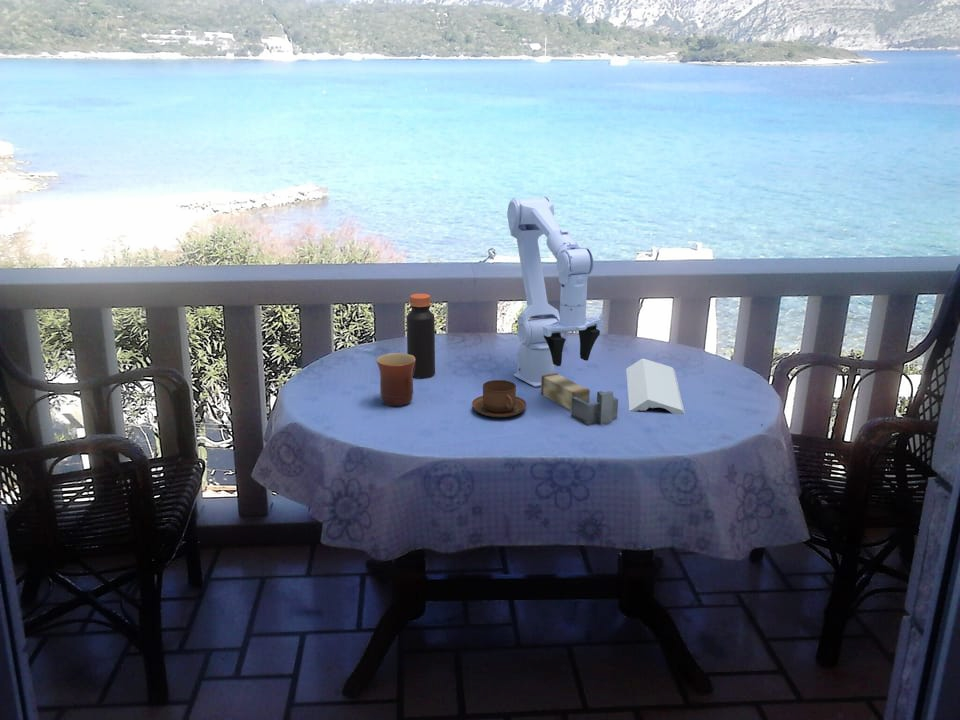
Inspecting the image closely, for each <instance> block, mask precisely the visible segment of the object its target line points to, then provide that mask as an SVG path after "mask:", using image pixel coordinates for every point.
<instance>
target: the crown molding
mask: <svg viewBox="0 0 960 720" xmlns="http://www.w3.org/2000/svg"><path fill="white" fill-rule="evenodd" d="M625 371H626V383H627V396H628V397H627V398H628V408H629V412H638V411H640V412H642V411H647V410H648V409H650V408H651V409H655V408H661V409H665V410H666V411H668V412H670V413H671V414H676V415H678V414H679V415H685V414H686V413H685V407H684V405H683V400H682V396H681V392H680V391H681V390H680V388H679V387H680V386H679V383H678V382H679V381H678V378H677V373H676V370H675V369H674V368H673V367H672V366H669V365H666V364H664V363H663V364H662V363H659V362H656V361H652V360H650V359H647V358H640V359H639V360H638V361H636V362H634V363H633V364H631V365H630V366H628V367H627V368H626V369H625Z"/></svg>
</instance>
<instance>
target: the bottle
mask: <svg viewBox="0 0 960 720" xmlns="http://www.w3.org/2000/svg"><path fill="white" fill-rule="evenodd" d="M409 305H410V308H411V310H410V311H409V312H408V314H407V315H406V349H407V350H406V352H407V353H406V354H411V355H414V357H415V359H416V360H415V371H414V375H413V379H428V378H431V377H433V376H435V374H436V343H435V341H436V340H435V339H436V337H435V336H436V332H435V331H436V330H435V328H436V326H435V321H436V320H435V314H434V313H433V312H432V311H431V310H430V307H431V295H430V294H427V293H413V294H411V295H409Z"/></svg>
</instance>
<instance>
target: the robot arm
mask: <svg viewBox="0 0 960 720" xmlns="http://www.w3.org/2000/svg"><path fill="white" fill-rule="evenodd" d="M554 206H555V205H554V203H553V201H552V200H551V198H550V197H549V196H544V197H533V198H512V199H511V200H510V202H509V203H508V207H507V212H506V214H507V215H506V216H507V220H508V228H509V231H510V236H511V237H513V238H515V239H516V243H517V250H518V255H519V256H518V257H519V262H520V268H521V274H522V279H523V280H522V281H523V287H524V292H525V299H526V305H527V306H526V308H524V309H523V310H522V311H520V313H519V315H518V317H517V322H518V326H517V334H518V339H519V341H520V345H519V347H518V349H517V361H516V363H517V364H516V373H514V374H513V376H514V377H516V378H517V379H519V380H521V381H523V382H525V383H526V384H529V385H530V386H533V387H534V388H537V387H541V380H542V376H543V375H548V374H553V373H555V369H556V367H555V366H557V367H561V366H562V362H563V349H564V345H565V343H566V340H567V339H566V338H564V334H565V333H571V332H577V331H578V335H579V336H578V337H579V358H580V359H581V360H584V361H589V358H590V355H591V351H592V349H593V347H594V344H595V342H596V341H597V339H598V337H599V336H600V334H601V331H600V329H599V328H601V327H602V326H601V325H602V324H601V321H602V319H601V318H599V317H596V316H594V317H587V314H586V313H587V299H588V298H587V297H588V295H587V294H588V278H589V276H588V275H591V274H592V272H593V270H594V257H593V256H594V255H593V254H592V251H591V249H590V248H589V247H587V246H586V247H584V246H580V245H579V244H578V242H577V240H575V238H574V237H573V235H572V234H571V233H570V231H569V230H568V229H567V228H561V226H560V225H559V223H558V221H557V219H556V217H555V207H554ZM543 235H544V236H545V237H546V246H547V248H548V249H549V251H550V252H551V253H552V255H553V256H554V258H555V259H556V269H557V273H558V283H560V294H559V295H560V299H559V300H560V301H559V310H558V309H557V308H556V307H554V306H552V305H551V304H549V302H548V297H547V290H546V283H545V277H544V271H543V267H542V265H543V263H542V260H541V253H540V252H541V251H540V247H539V237H541V236H543Z"/></svg>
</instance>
